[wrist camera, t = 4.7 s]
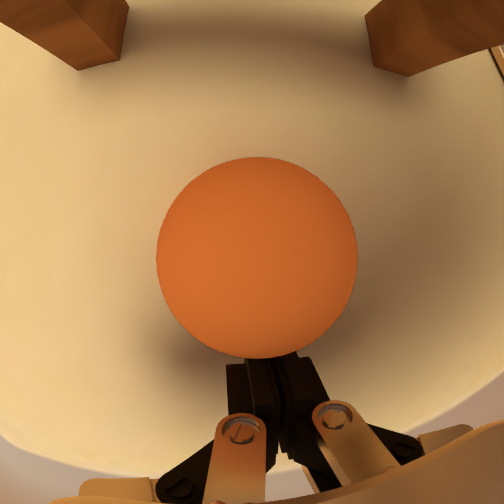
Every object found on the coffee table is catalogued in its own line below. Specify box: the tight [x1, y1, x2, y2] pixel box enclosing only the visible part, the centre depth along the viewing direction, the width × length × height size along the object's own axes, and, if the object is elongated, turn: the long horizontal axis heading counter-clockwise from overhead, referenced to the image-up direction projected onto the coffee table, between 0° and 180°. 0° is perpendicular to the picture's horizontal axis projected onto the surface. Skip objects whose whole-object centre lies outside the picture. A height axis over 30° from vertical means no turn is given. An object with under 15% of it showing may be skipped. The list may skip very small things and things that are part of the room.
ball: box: [156, 157, 358, 359], centre depth 8 cm, size 6×6×6 cm
